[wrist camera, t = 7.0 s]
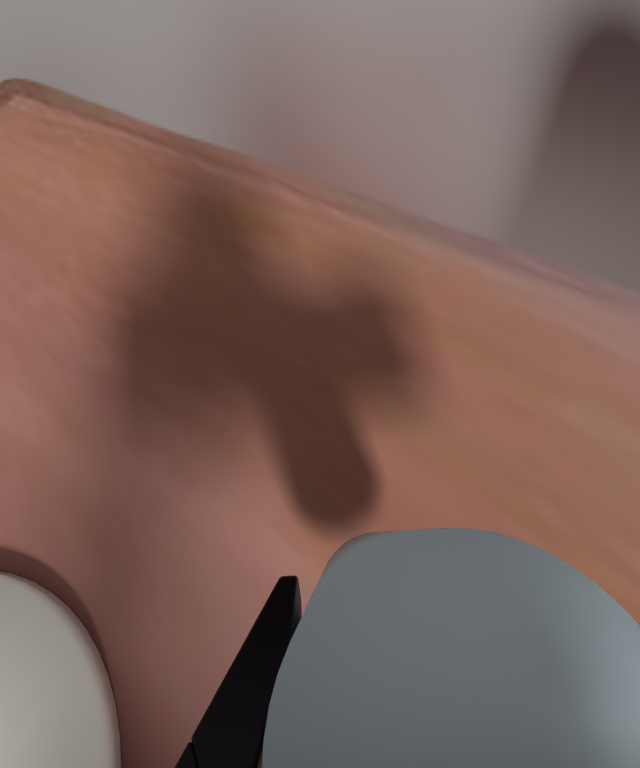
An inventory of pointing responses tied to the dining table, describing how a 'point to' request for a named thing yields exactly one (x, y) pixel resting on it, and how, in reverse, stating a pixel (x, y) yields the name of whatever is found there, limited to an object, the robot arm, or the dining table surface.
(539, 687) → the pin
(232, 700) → the robot arm
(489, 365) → the dining table surface
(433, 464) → the dining table surface
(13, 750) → the plate
